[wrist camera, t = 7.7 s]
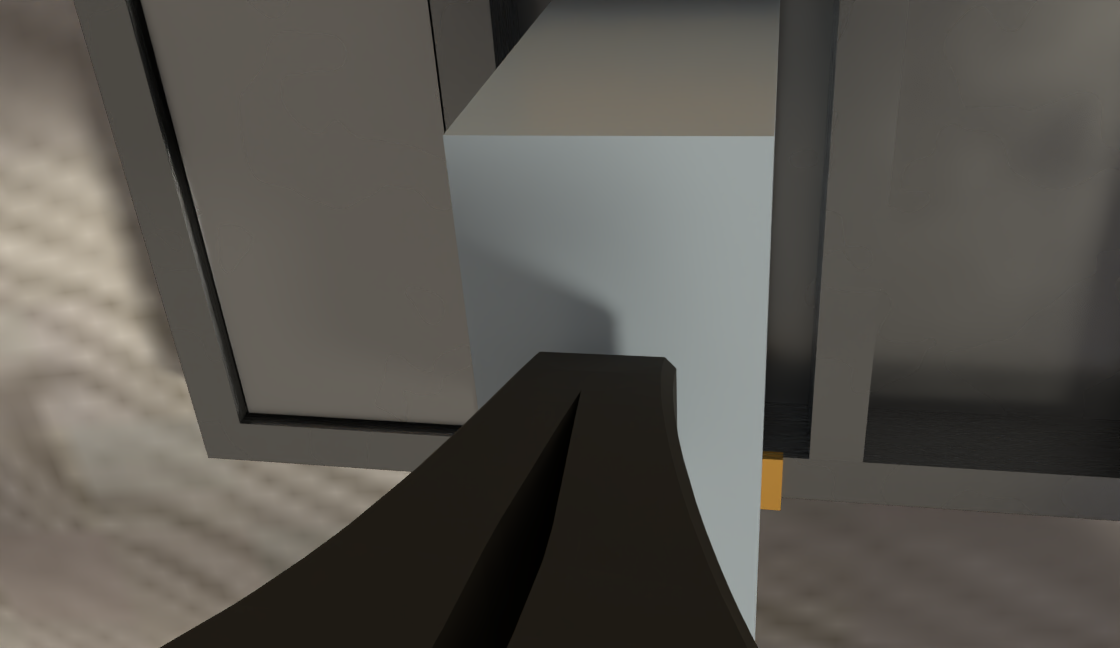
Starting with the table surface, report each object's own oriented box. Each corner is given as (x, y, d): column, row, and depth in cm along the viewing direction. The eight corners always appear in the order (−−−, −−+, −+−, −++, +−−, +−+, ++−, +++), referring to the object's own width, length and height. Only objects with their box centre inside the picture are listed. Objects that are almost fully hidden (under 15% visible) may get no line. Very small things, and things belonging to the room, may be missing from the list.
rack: (1179, 451, 17) (1226, 542, 15) (258, 398, 20) (204, 468, 18) (1373, -220, 12) (1477, -205, 10) (118, -150, 15) (25, -129, 14)
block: (563, -14, 15) (443, 135, 10) (780, -20, 14) (773, 135, 9) (587, 368, 18) (506, 630, 13) (765, 377, 17) (754, 655, 12)
